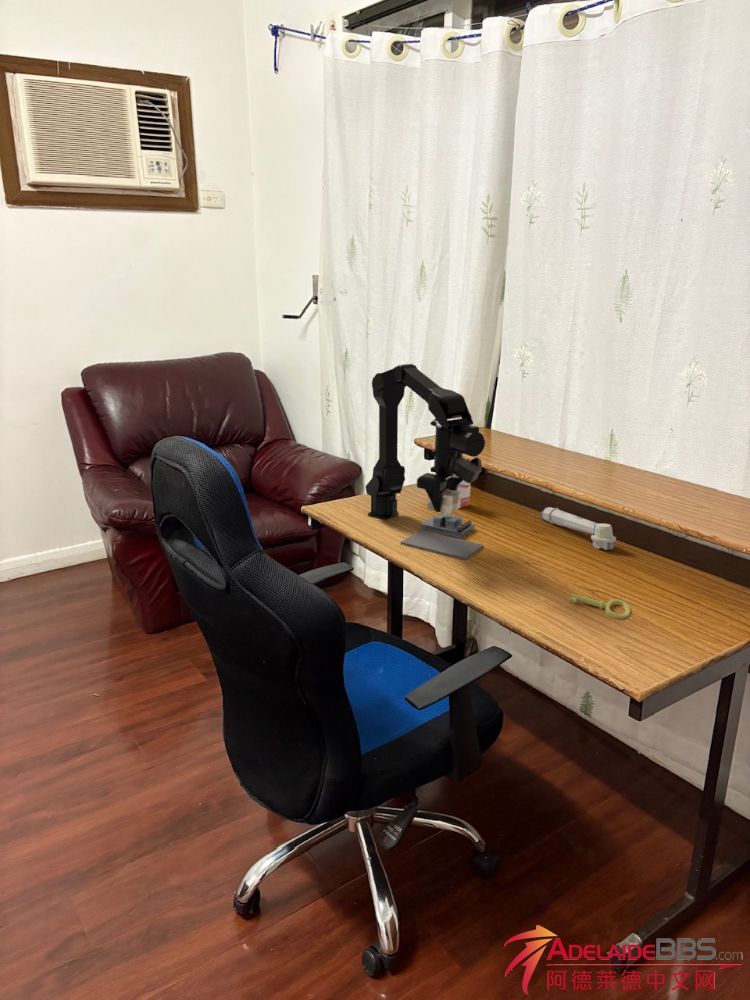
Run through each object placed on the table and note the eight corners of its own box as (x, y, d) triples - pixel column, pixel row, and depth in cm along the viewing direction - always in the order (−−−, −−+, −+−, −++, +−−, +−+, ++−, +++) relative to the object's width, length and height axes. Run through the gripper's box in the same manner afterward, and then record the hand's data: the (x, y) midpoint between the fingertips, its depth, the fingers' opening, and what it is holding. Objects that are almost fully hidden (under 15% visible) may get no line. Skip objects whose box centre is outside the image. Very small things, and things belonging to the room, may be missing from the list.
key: (567, 601, 155) (568, 592, 154) (627, 605, 154) (628, 596, 153) (571, 617, 148) (572, 607, 148) (634, 622, 147) (635, 612, 146)
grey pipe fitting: (554, 505, 202) (621, 522, 180) (554, 528, 203) (620, 548, 181) (539, 507, 200) (604, 525, 178) (539, 531, 201) (604, 551, 179)
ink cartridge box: (470, 505, 212) (473, 456, 207) (459, 509, 209) (462, 459, 204) (448, 498, 218) (450, 450, 213) (437, 501, 214) (439, 453, 210)
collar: (427, 509, 178) (428, 493, 177) (438, 502, 183) (439, 487, 182) (449, 514, 175) (450, 498, 174) (460, 507, 180) (461, 491, 179)
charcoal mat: (400, 544, 183) (400, 541, 182) (420, 532, 191) (420, 530, 190) (466, 560, 174) (466, 558, 173) (483, 547, 182) (483, 544, 182)
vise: (420, 529, 193) (421, 502, 190) (434, 520, 199) (435, 494, 197) (461, 538, 187) (462, 511, 184) (474, 529, 193) (476, 502, 191)
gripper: (460, 460, 162) (456, 526, 168) (493, 443, 177) (489, 504, 183) (416, 453, 168) (414, 516, 173) (452, 437, 183) (449, 496, 188)
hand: (443, 508), depth 179 cm, fingers closed on collar, 6 cm apart
